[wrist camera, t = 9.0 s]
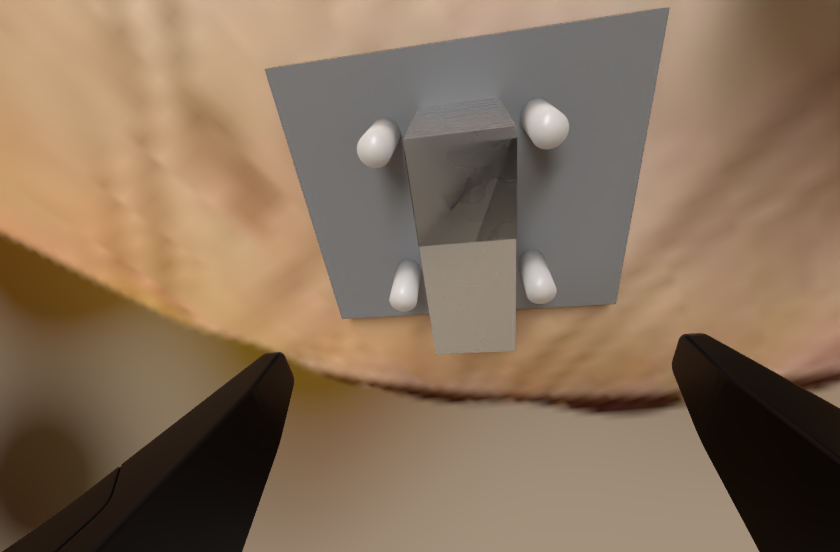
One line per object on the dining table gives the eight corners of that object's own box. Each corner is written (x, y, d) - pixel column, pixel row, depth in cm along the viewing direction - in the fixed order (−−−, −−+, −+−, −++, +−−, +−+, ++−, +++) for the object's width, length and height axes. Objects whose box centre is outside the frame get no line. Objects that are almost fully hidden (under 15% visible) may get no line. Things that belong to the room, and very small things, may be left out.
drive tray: (656, 8, 13) (713, 3, 10) (608, 292, 19) (636, 338, 16) (275, 67, 15) (231, 76, 12) (346, 307, 21) (329, 351, 18)
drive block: (498, 97, 14) (517, 125, 10) (502, 277, 18) (516, 350, 14) (417, 107, 14) (402, 139, 10) (439, 281, 19) (435, 354, 14)
